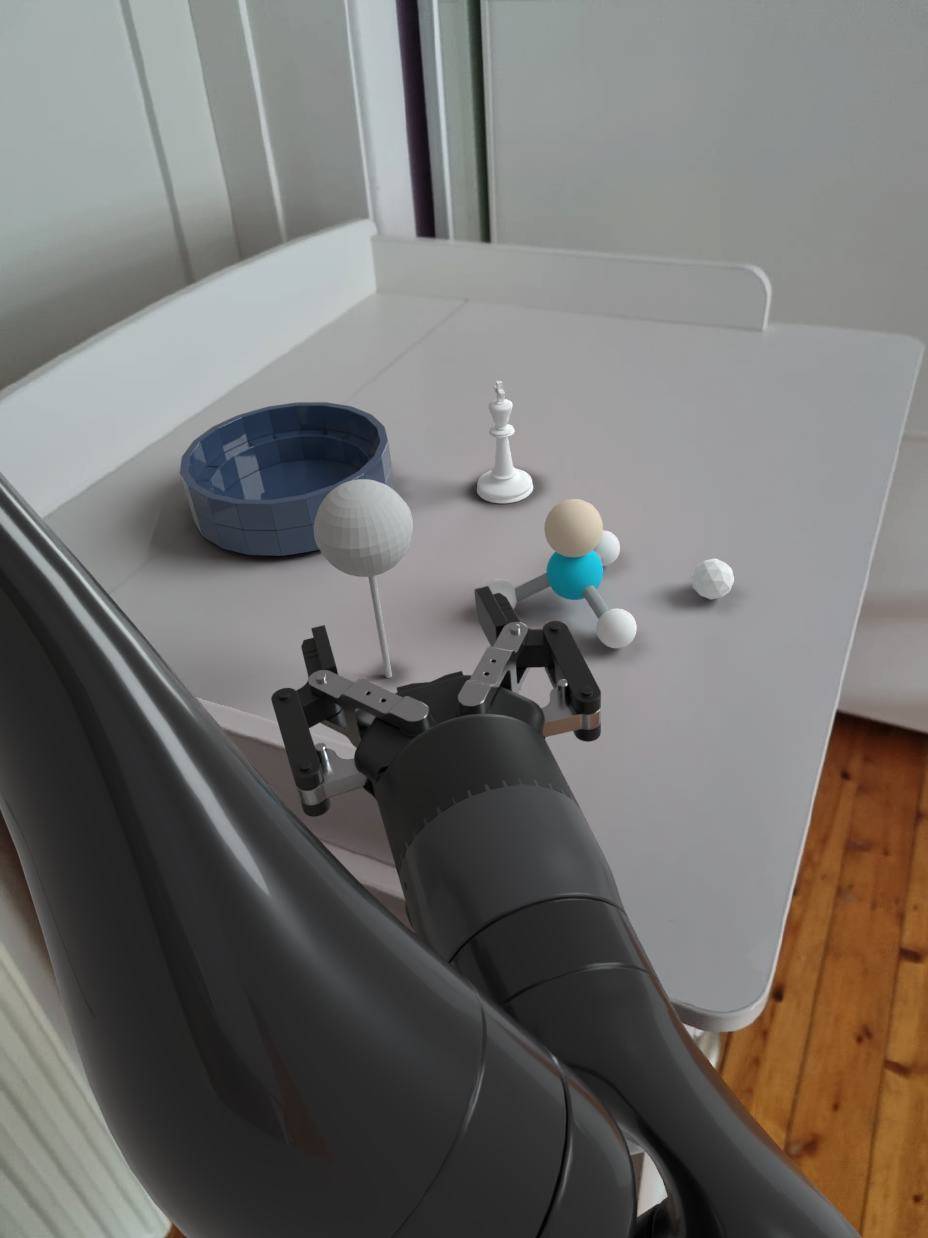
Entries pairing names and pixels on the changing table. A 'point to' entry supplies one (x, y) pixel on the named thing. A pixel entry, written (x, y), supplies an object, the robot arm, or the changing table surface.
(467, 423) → the changing table surface
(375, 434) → the bowl
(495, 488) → the chess piece
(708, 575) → the polyhedron
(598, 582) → the molecule model
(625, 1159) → the robot arm
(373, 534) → the lollipop
